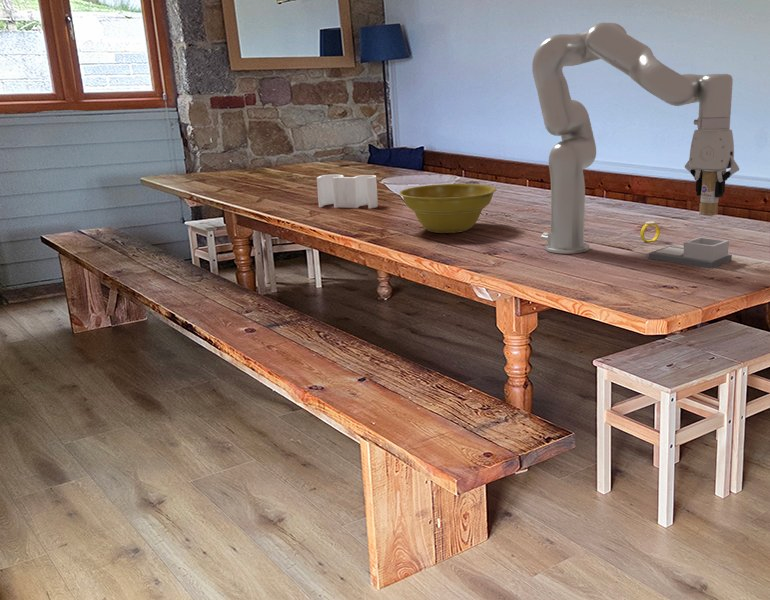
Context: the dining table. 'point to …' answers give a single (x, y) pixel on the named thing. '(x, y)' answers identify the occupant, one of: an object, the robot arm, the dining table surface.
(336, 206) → the bracket
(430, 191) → the planter bowl
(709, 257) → the grey tray with box
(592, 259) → the dining table surface
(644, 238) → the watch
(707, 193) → the sprinkles bottle
